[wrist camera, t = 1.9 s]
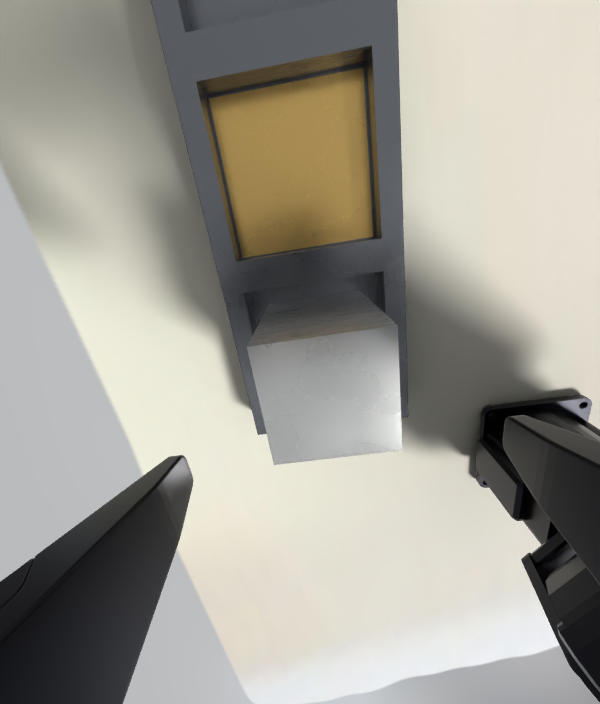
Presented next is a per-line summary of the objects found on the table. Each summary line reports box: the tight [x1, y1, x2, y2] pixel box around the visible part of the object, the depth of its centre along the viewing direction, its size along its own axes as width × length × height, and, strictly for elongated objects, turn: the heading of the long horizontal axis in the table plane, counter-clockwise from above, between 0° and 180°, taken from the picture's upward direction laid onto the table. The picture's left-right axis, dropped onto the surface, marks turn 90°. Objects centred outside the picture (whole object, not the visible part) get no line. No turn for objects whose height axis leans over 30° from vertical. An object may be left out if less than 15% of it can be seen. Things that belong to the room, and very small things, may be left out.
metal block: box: [247, 290, 402, 465], centre depth 14 cm, size 5×5×7 cm
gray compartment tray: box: [151, 0, 408, 435], centre depth 14 cm, size 9×27×2 cm, turn 9°
